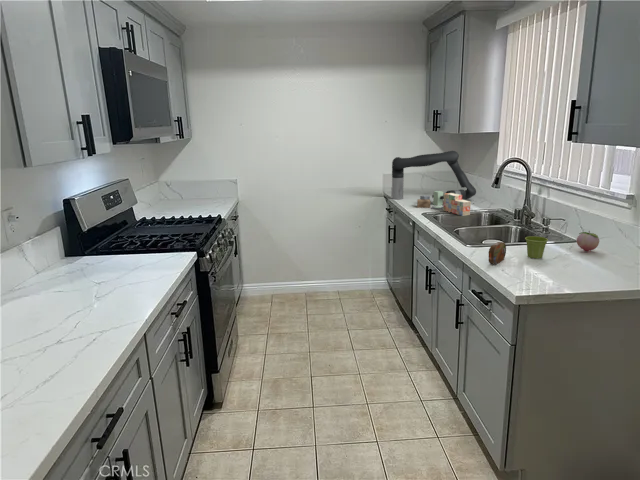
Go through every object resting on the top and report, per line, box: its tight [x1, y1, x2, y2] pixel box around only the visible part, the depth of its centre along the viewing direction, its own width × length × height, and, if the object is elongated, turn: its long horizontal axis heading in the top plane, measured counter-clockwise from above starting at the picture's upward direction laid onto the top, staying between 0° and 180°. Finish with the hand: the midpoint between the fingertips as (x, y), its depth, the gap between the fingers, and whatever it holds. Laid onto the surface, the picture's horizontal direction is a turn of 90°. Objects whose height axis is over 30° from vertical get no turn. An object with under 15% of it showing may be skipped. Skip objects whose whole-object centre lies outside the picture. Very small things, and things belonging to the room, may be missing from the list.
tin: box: [488, 241, 507, 265], centre depth 195 cm, size 15×3×8 cm, turn 138°
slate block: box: [419, 194, 431, 200], centre depth 334 cm, size 5×5×6 cm
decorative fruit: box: [576, 230, 600, 252], centre depth 205 cm, size 9×8×10 cm
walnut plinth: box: [416, 198, 431, 209], centre depth 323 cm, size 9×9×5 cm
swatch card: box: [430, 205, 443, 210], centre depth 317 cm, size 9×7×1 cm
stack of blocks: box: [442, 192, 472, 217], centre depth 299 cm, size 21×6×12 cm, turn 20°
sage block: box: [432, 190, 444, 207], centre depth 328 cm, size 5×5×10 cm
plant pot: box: [524, 235, 549, 260], centre depth 199 cm, size 9×9×9 cm
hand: (436, 197), depth 327 cm, fingers open, 8 cm apart
